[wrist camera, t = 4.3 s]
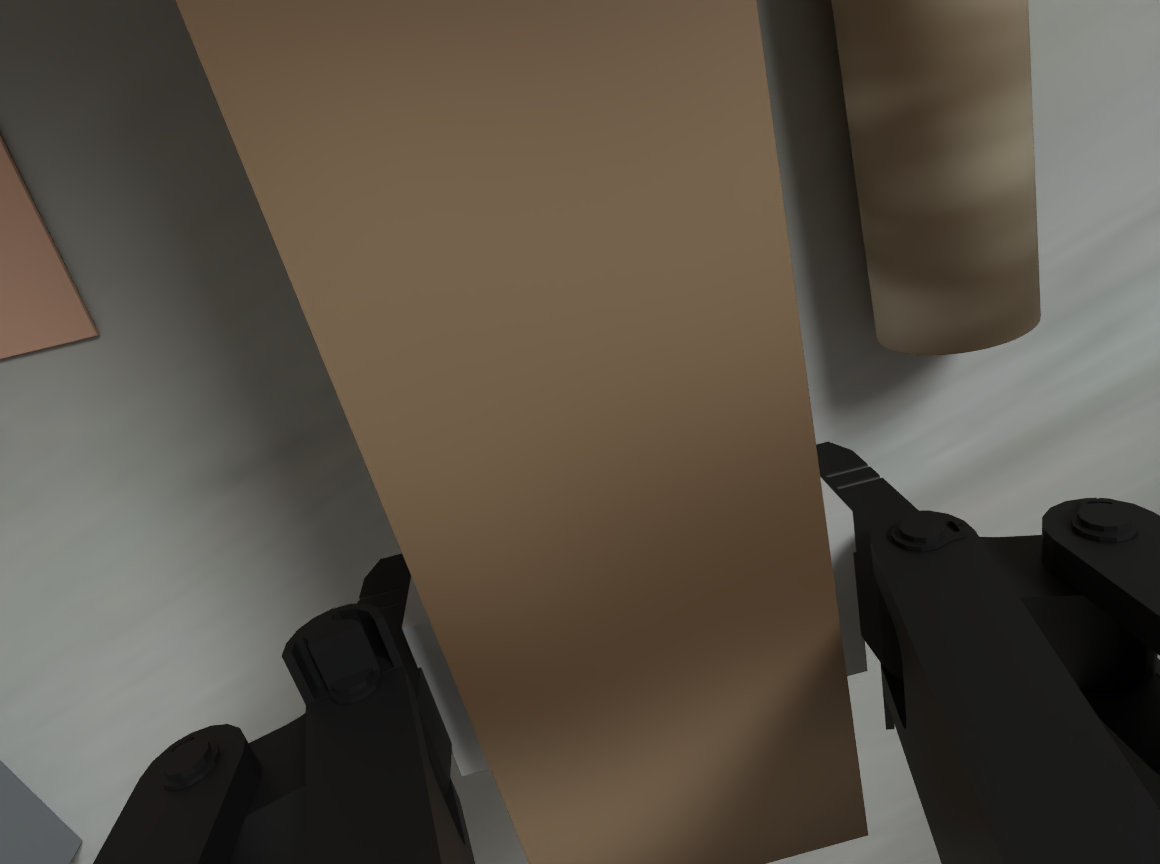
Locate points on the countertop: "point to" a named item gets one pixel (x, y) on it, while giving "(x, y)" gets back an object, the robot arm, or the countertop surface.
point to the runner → (33, 275)
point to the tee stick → (31, 827)
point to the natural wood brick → (572, 393)
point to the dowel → (943, 168)
